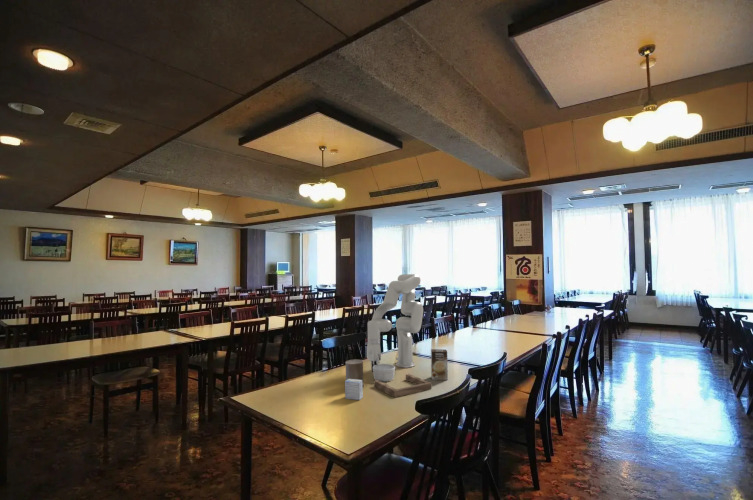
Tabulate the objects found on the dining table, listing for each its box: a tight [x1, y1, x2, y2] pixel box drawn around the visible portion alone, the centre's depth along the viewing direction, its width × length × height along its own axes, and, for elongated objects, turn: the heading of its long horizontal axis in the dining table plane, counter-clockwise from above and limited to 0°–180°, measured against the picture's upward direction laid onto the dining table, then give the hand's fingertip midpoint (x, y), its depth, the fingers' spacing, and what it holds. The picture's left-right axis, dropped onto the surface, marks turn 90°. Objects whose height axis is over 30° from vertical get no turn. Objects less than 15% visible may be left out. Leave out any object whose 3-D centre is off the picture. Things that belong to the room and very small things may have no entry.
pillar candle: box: [344, 358, 365, 388], centre depth 194 cm, size 10×10×15 cm
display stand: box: [373, 373, 432, 398], centre depth 192 cm, size 20×23×3 cm
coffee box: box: [430, 348, 449, 381], centre depth 207 cm, size 9×6×16 cm
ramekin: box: [372, 363, 396, 383], centre depth 208 cm, size 13×13×7 cm
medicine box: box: [344, 379, 364, 401], centre depth 177 cm, size 8×4×9 cm, turn 71°
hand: (374, 371), depth 217 cm, fingers closed
